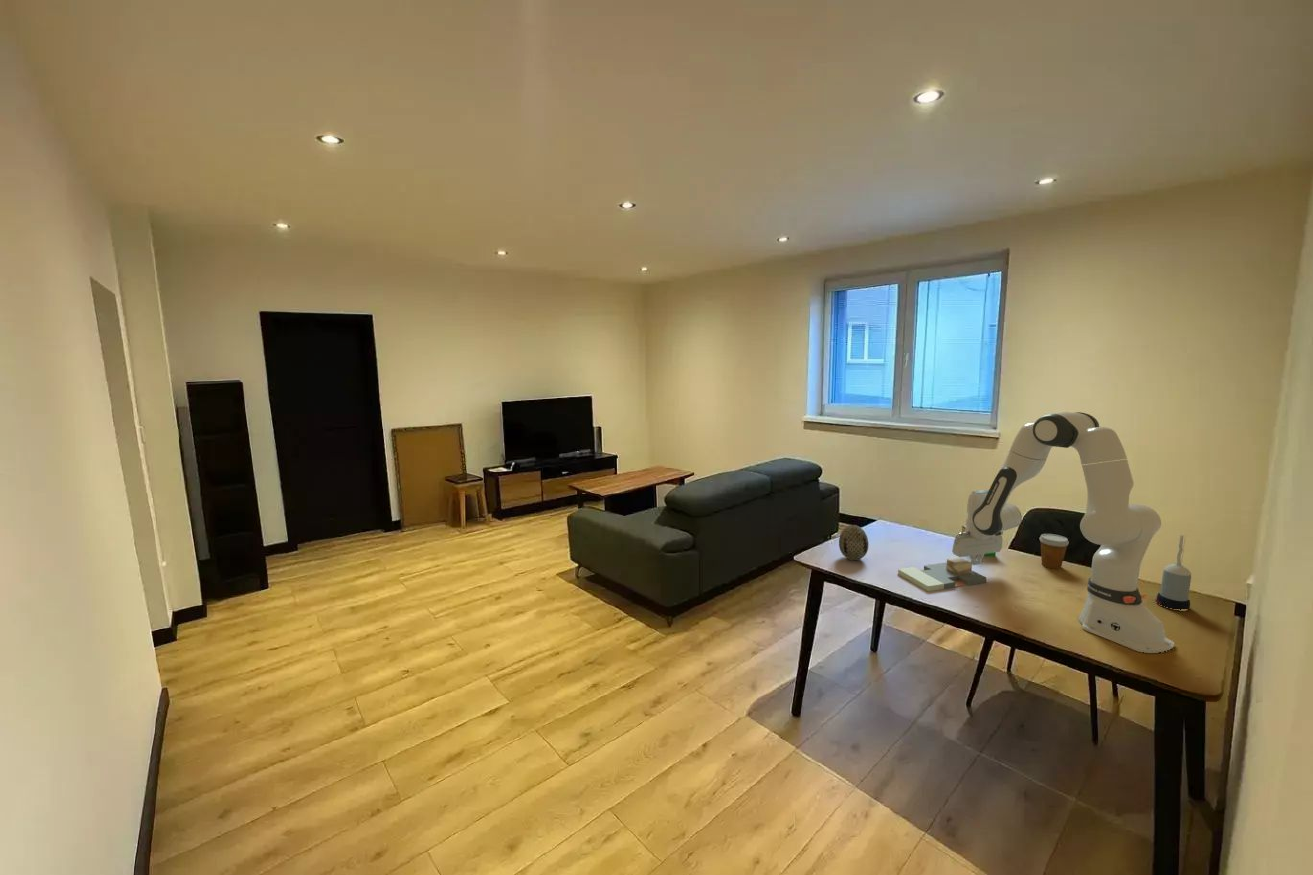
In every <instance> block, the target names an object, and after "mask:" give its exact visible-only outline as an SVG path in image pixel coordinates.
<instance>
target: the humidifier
mask: <svg viewBox="0 0 1313 875" xmlns="http://www.w3.org/2000/svg"><path fill="white" fill-rule="evenodd" d="M1179 536H1180V537H1179V543H1178V552H1177V555H1176V562H1175V563H1171V564H1167V565H1166V566H1165V567H1164V568H1163V571H1162V578H1161V584H1160V592H1158V593H1157V595H1156V599H1155V603H1156V602H1157V603H1158V604H1160V605H1162V606H1165V607H1168V608H1172V609H1180V610H1181V609H1189V608H1191V600H1190V599H1189V595H1190V588H1191V582H1192V581H1191V580H1192V572H1191V571H1190V570H1189V568H1187V567H1186V566H1184V565H1183V564H1182V562H1183V559H1182V558H1183V556H1184V552H1185V545H1184V544H1185V542H1186V539H1184V537H1186V535H1183V534H1180V535H1179ZM1157 603H1156V604H1157ZM1158 604H1157V605H1158ZM1160 605H1159V606H1160ZM1162 606H1161V607H1162ZM1189 610H1190V609H1189Z"/></svg>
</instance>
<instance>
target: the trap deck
mask: <svg viewBox="0 0 1313 875" xmlns="http://www.w3.org/2000/svg"><path fill="white" fill-rule="evenodd" d="M946 566H947V561H946V562H940V563H939V562H938V563H933V564H925V565H923V569H918V568H916V567H914V566H911V567H904V568H897V574H898V575H899V576H901V577H903V578H904V579H906V580H907V581H909V582H911V583H912V584H915V585H916V586H918V587H920V588H921V589H923V590H925V591H926V592H934V591H939V590H946V589H952V588H958V587H960V588H961V587H965V586H973V585H978V584H979V585H980V584H985V583H987V579H988V578H987V577H986V576H985V575H982V574H980V573H978V572H976V571H974V570H972V571H971V573H967V574H960V575H958V574H956V573H954V572H952V571H950V570H948V569H946Z"/></svg>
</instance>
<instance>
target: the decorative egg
mask: <svg viewBox="0 0 1313 875" xmlns="http://www.w3.org/2000/svg"><path fill="white" fill-rule="evenodd" d="M864 530H865V529H863V528H862V527H860V526H859V525H856V524H849V525H847V526H846V527H844V529H842V531H841V532H840V535H839V537H838V538H839V539H838V546H839V547H838V548H839V550H840V553H841V554H842V555H843V556H844V557H845V558H846V559H849V560H850V561H858V560H862V559H863V558H864V557H865V556H866V555H867V553H868V550H869V539H868V535H867V534H866V532H865V531H864Z"/></svg>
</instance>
